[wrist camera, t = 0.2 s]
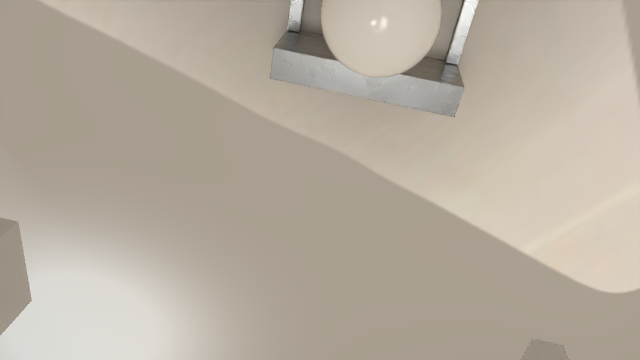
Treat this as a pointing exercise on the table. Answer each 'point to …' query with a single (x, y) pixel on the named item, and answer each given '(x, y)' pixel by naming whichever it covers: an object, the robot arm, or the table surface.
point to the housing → (403, 89)
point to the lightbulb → (380, 33)
